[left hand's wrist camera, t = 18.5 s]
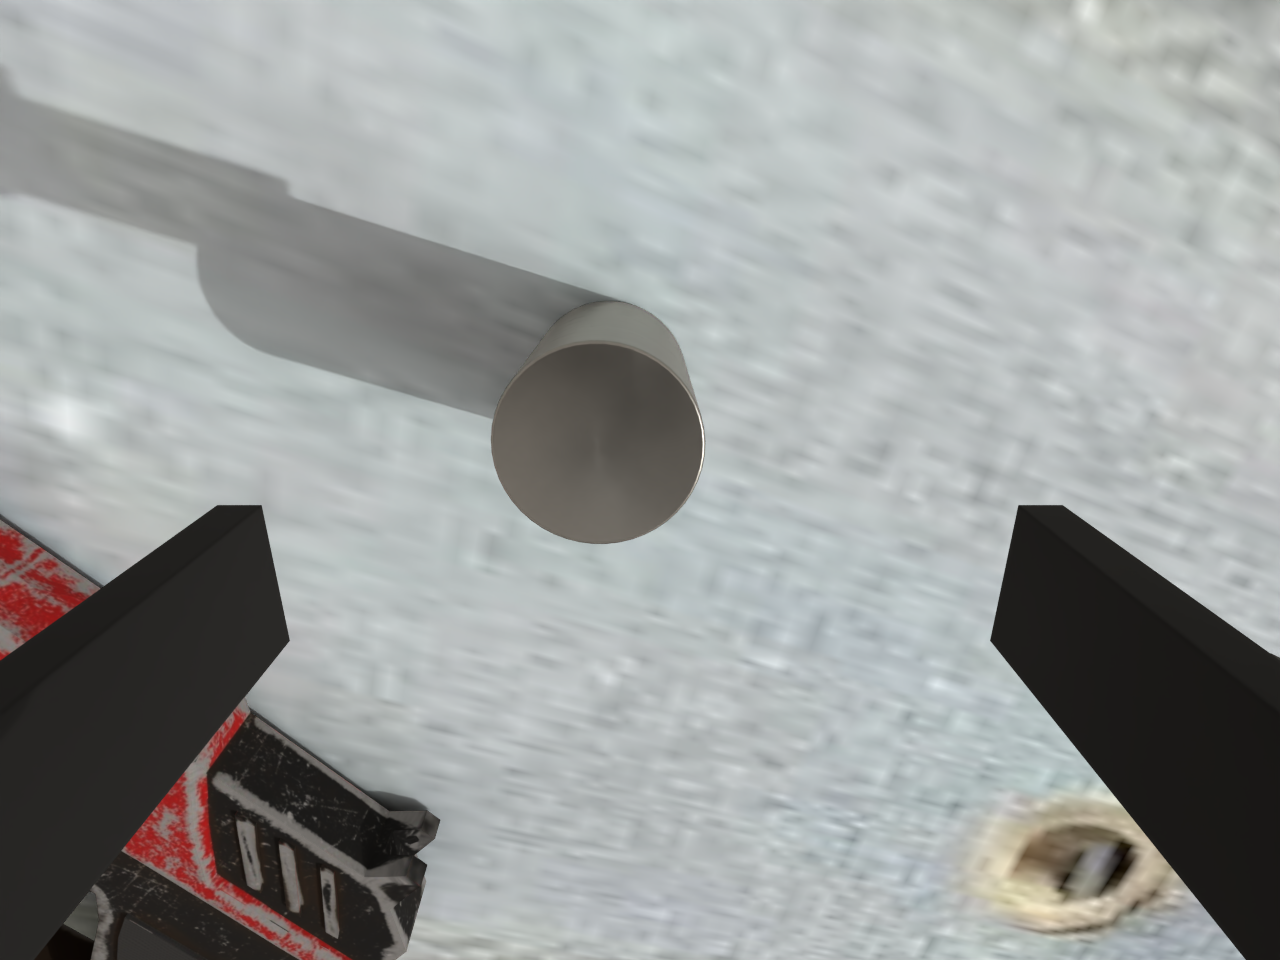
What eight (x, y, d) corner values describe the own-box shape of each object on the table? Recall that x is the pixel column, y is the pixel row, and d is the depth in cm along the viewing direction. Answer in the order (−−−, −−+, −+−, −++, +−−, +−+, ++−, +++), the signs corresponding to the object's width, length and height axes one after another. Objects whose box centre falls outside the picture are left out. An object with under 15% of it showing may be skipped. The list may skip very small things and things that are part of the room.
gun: (172, 1152, 32) (465, 934, 28) (-642, 758, 23) (-397, 356, 19) (224, 1042, 36) (485, 838, 32) (-450, 674, 28) (-214, 329, 23)
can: (630, 477, 26) (626, 580, 18) (505, 397, 25) (451, 474, 17) (716, 358, 24) (749, 421, 17) (587, 268, 23) (564, 294, 16)
